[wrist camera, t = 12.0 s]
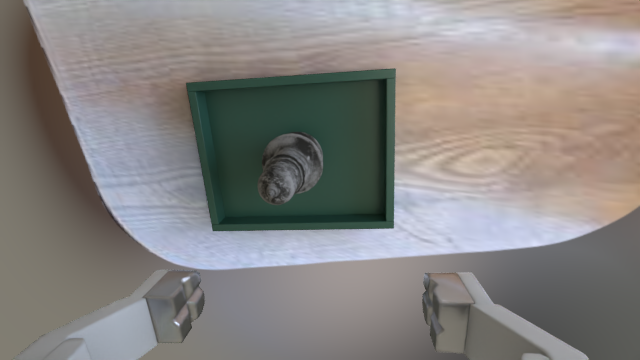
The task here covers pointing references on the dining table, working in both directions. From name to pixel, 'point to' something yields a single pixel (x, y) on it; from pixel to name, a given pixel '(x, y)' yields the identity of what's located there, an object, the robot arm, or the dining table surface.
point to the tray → (309, 117)
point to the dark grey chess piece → (289, 167)
